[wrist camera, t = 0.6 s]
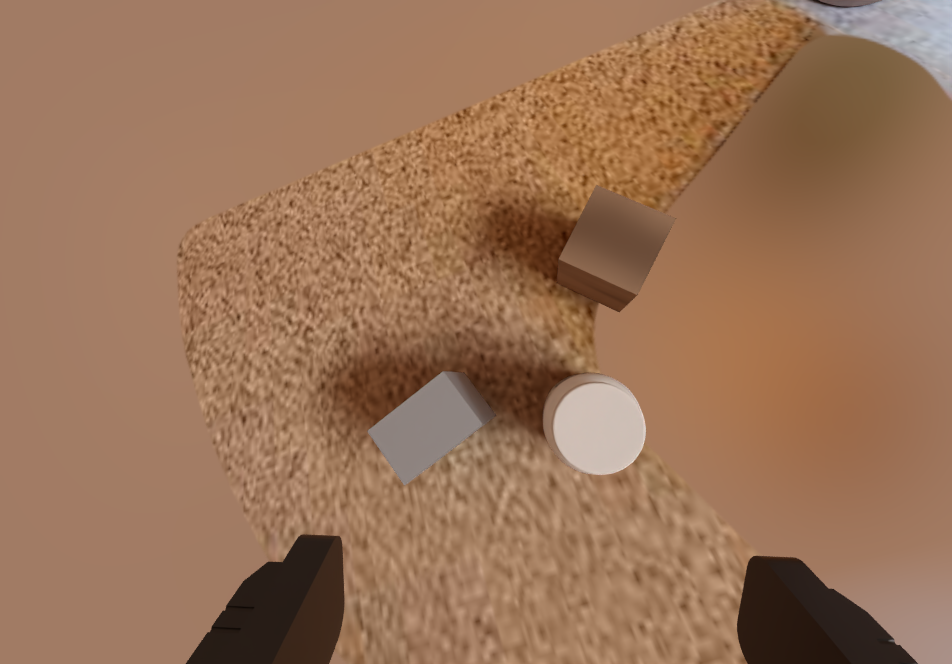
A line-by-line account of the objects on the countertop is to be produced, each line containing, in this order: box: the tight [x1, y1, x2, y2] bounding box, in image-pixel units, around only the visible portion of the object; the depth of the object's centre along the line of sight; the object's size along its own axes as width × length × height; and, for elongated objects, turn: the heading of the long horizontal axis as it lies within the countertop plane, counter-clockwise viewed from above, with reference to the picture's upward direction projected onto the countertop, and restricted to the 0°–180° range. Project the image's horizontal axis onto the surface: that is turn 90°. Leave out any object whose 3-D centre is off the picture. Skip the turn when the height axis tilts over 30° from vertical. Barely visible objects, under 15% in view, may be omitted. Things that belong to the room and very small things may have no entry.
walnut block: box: [557, 185, 676, 312], centre depth 31 cm, size 5×5×7 cm
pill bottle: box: [543, 373, 646, 475], centre depth 28 cm, size 6×6×10 cm
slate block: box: [367, 371, 496, 486], centre depth 31 cm, size 6×4×7 cm, turn 127°
